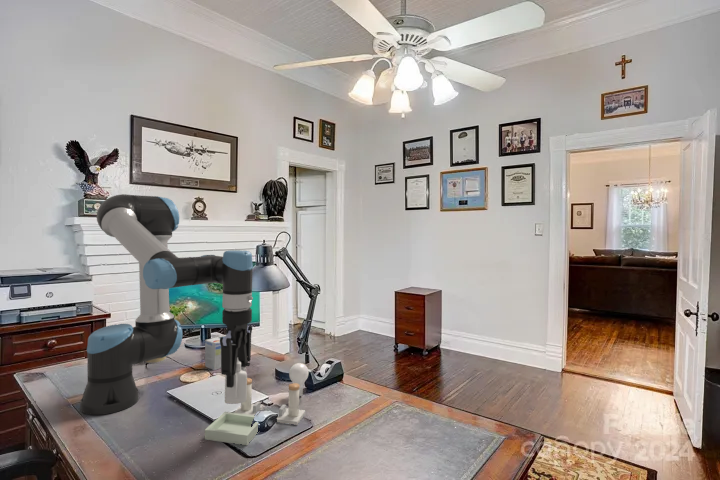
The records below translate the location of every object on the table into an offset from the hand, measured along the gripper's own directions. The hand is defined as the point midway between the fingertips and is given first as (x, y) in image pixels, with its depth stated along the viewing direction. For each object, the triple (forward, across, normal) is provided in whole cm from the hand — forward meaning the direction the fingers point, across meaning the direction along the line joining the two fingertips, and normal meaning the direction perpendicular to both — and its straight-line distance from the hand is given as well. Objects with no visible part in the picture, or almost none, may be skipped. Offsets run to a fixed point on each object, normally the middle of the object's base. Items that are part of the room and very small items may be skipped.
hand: (236, 393), depth 105 cm
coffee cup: (+11, +42, +58) cm, 73 cm away
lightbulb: (+11, +25, -9) cm, 29 cm away
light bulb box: (+11, +44, +30) cm, 55 cm away
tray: (+11, 0, 0) cm, 11 cm away
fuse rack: (+11, +11, -5) cm, 16 cm away
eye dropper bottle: (+2, 0, 0) cm, 2 cm away
